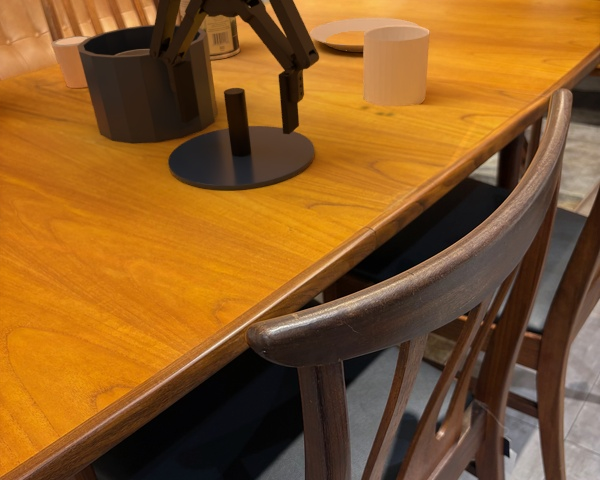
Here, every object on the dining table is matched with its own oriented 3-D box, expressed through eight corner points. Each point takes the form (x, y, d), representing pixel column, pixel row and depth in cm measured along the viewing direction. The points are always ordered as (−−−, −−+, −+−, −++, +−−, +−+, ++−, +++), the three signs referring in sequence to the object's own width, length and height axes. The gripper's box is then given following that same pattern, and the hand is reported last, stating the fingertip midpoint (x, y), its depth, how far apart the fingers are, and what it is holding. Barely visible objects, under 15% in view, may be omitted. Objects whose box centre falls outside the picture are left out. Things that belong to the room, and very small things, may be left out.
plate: (391, 24, 127) (391, 12, 126) (440, 47, 111) (441, 34, 110) (296, 38, 123) (295, 26, 121) (333, 64, 106) (333, 51, 105)
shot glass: (109, 83, 105) (99, 40, 101) (69, 92, 102) (57, 48, 98) (95, 74, 110) (85, 33, 105) (57, 82, 107) (45, 40, 103)
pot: (75, 139, 84) (50, 52, 78) (146, 100, 96) (130, 22, 90) (175, 153, 78) (158, 60, 72) (238, 110, 90) (228, 27, 84)
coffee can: (211, 43, 123) (201, -36, 114) (251, 49, 118) (242, -34, 109) (174, 56, 116) (160, -27, 108) (214, 63, 111) (203, -24, 103)
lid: (140, 182, 72) (123, 109, 67) (217, 128, 85) (208, 63, 80) (275, 205, 66) (268, 126, 60) (336, 142, 78) (335, 73, 73)
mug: (415, 112, 85) (419, 42, 80) (354, 106, 89) (354, 39, 83) (437, 86, 94) (442, 21, 88) (381, 81, 97) (382, 18, 92)
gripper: (87, -80, 62) (134, 125, 74) (315, -88, 52) (324, 147, 65) (133, -88, 67) (169, 104, 80) (346, -97, 58) (349, 122, 70)
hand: (239, 124), depth 72 cm, fingers open, 13 cm apart
